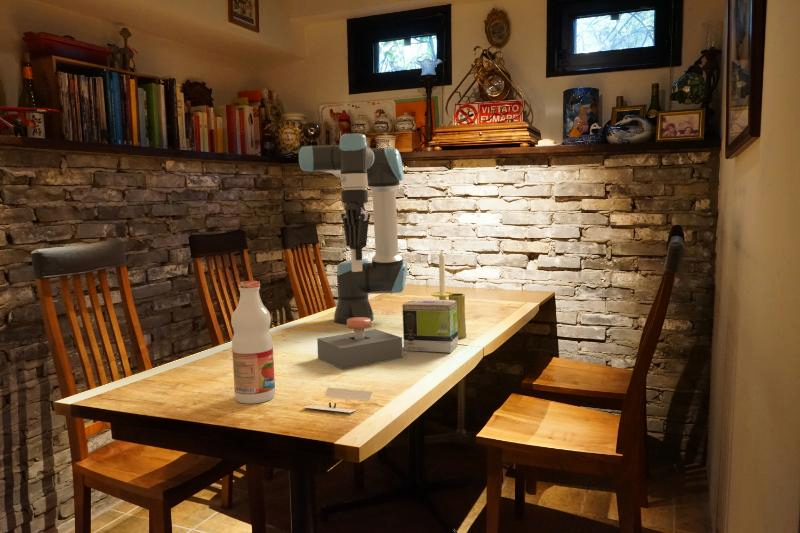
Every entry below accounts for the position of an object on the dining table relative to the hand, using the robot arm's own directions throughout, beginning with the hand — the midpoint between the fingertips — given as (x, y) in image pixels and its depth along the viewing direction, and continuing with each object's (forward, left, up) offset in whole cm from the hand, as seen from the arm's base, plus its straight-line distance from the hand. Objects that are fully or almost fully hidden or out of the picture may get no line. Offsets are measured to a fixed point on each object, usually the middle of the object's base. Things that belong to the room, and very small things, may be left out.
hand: (357, 271), depth 178 cm
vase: (-3, +39, -26) cm, 47 cm away
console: (0, 0, -26) cm, 26 cm away
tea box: (+4, +23, -26) cm, 35 cm away
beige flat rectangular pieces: (+32, -24, -26) cm, 48 cm away
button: (0, 0, -22) cm, 22 cm away
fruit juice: (+16, -38, -26) cm, 49 cm away
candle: (-29, +53, -26) cm, 66 cm away
